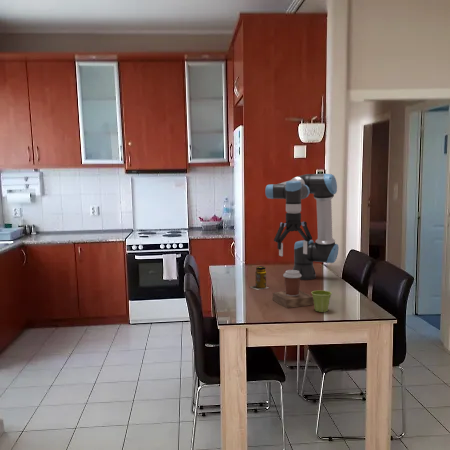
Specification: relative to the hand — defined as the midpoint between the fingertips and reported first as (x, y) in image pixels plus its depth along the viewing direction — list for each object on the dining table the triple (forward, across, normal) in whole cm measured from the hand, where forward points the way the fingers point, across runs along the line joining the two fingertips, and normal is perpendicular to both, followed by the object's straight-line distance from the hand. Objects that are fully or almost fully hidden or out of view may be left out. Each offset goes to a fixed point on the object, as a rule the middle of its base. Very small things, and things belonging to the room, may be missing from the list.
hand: (293, 254), depth 228 cm
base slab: (+24, 0, 0) cm, 24 cm away
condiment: (+25, +3, -34) cm, 42 cm away
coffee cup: (+20, 0, 0) cm, 21 cm away
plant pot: (+24, -6, +17) cm, 30 cm away
